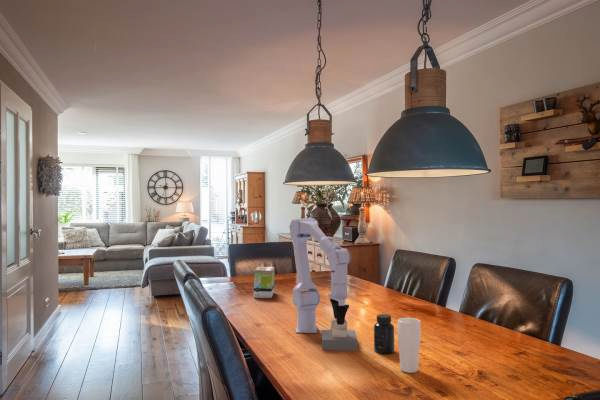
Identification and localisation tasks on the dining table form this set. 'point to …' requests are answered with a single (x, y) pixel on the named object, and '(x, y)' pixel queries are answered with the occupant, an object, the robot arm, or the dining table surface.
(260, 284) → the tea box
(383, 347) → the supplement bottle
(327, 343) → the charcoal box
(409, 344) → the drinking glass
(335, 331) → the birch block
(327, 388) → the dining table surface
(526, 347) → the dining table surface
